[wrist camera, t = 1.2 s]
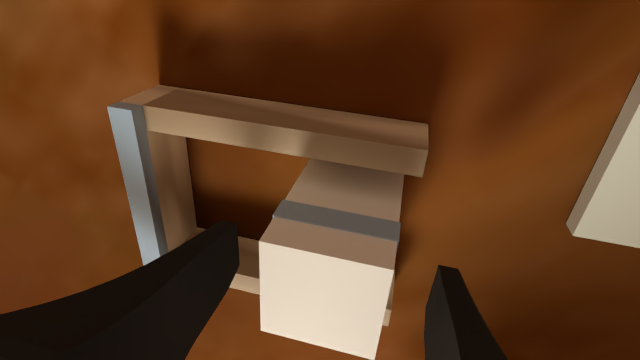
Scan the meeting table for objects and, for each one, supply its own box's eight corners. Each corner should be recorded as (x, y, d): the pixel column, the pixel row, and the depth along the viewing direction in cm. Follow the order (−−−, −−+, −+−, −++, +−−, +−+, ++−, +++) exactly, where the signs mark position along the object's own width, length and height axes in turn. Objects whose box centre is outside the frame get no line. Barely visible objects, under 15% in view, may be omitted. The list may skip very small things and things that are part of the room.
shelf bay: (391, 285, 18) (386, 337, 16) (182, 238, 20) (146, 277, 18) (428, 124, 14) (428, 158, 12) (158, 84, 16) (107, 106, 14)
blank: (390, 248, 17) (375, 361, 12) (306, 230, 18) (259, 331, 13) (406, 171, 15) (396, 269, 10) (310, 155, 16) (257, 239, 11)
